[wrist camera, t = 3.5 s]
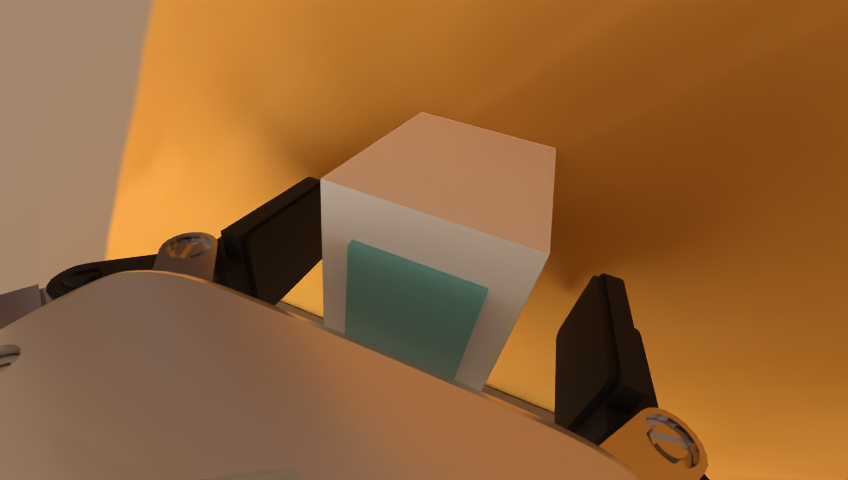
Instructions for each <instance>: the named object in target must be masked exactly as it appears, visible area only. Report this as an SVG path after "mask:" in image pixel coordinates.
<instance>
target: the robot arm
mask: <svg viewBox="0 0 848 480" xmlns="http://www.w3.org/2000/svg"><path fill="white" fill-rule="evenodd" d="M221 235H222V237H220V238H218V239H216V238H215V237H214V236H212V235H210V234H207V233H202V232H191V233H184V234H181V235H178V236H175V237H173V238H171V239H169V240H167V241H166V242H165V243H163V244H162V246H161V247H160V249H159V252H158V254H154V255H147V256H139V257H131V258H124V259H116V260H108V261H101V262H93V263H87V264H83V265H77V266H74V267H72V268H69V269H67V270H65V271H63V272H61V273H59V274H58V275H56V276H55V277H54V278H52V279H51V281H50V282H49V283H48V285H47V287H45V288H41V287H40V285H39V284H37V285H33V286H30V287H26V288H22V289H19V290H15V291H12V292H9V293H4V294H1V295H0V480H709V479H708V478H707V476H706V475H705V474H704V473H705V471H706V469H707V466H708V461H707V455H706V452H705V450H704V447H703V445H702V443H701V442H700V440H699V439H698V437H697V436H696V434H695V433H694V432H693V431H692V430H691V429H690V428H689V427H688V426H687V425H686V424H685V423H684V422H683V421H681V420H680V419H679V418H678V417H676V416H675V415H673V414H671V413H669V412H667V411H665V410H662V409H659V408H658V403H657V399H656V395H655V391H654V387H653V383H652V379H651V375H650V371H649V367H648V363H647V359H646V354H645V350H644V346H643V342H642V338H641V335H640V332H639V331H638V330H637V329H636V328H634V324H633V320H632V315H631V311H630V307H629V302H628V298H627V294H626V289H625V285H624V281H623V280H622V279H619V278H616V277H613V276H610V275H607V274H604V273H603V274H601V275H600V276H599V277H598V276H593V277H592V278H591V280H590V282H589V283H588V285H587V286H586V288H585V289H584V291H583V293H582V294H581V296H580V297H579V299H578V301H577V302H576V304H575V305H574V307H573V309H572V310H571V312H570V313H569V315H568V316H567V318H566V320H565V321H564V323H563V324H562V326H561V328H560V329H559V331H558V334H557V338H556V376H555V423H553V422H551V421H548V420H546V419H544V418H541V417H539V416H537V415H535V414H532V413H530V412H528V411H525V410H523V409H521V408H519V407H516V406H514V405H512V404H510V403H507V402H505V401H503V400H500V399H498V398H496V397H493V396H491V395H489V394H486V393H484V392H481V391H479V390H477V389H474V388H472V387H470V386H467V385H465V384H462V383H460V382H458V381H455V380H453V379H451V378H448V377H446V376H443V375H441V374H439V373H436V372H434V371H432V370H429V369H427V368H424V367H422V366H420V365H417V364H415V363H412V362H410V361H408V360H405V359H403V358H400V357H398V356H396V355H393V354H391V353H388V352H386V351H384V350H381V349H379V348H376V347H374V346H372V345H369V344H367V343H364V342H362V341H359V340H357V339H355V338H352V337H350V336H347V335H345V334H343V333H340V332H338V331H335V330H333V329H330V328H328V327H326V326H323V325H321V324H318V323H316V322H313V321H311V320H308V319H306V318H303V317H301V316H299V315H296V314H294V313H291V312H289V311H286V310H284V309H281V308H279V307H277V306H275V305H276V304H277V303H278V302H279V301H280V300H281V299H282V298H283V297H284V296H285V295H286V294H287V293H288V292H289V291H290V290H291V289H292V288H293V287H294V286H295V285H296V284H297V283H298V282H299V281H300V280H301V279H302V278H303V277H304V276H305V275H306V274H307V273H308V272H309V271H310V270H311V269H312V268H313V267H314V266H315V265H316V264H317V263H318V262H319V261H320V260H321V259H322V225H321V186H320V180H318V179H315V178H312V177H307V178H305V179H304V180H302V181H301V182H299V183H297V184H296V185H294V186H293V187H291V188H289V189H288V190H286V191H285V192H283V193H281V194H280V195H278V196H277V197H275V198H273V199H272V200H270V201H269V202H267V203H265V204H264V205H262V206H260V207H259V208H257V209H256V210H254V211H252V212H251V213H249V214H248V215H246V216H244V217H243V218H241V219H240V220H238V221H236V222H235V223H233V224H232V225H230V226H228V227H227V228H225V229H224V230H222V231H221Z"/></svg>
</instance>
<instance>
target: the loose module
mask: <svg viewBox="0 0 848 480" xmlns="http://www.w3.org/2000/svg"><path fill="white" fill-rule="evenodd" d="M555 162H556V148H554V147H550V146H547V145H543V144H539V143H536V142H532V141H528V140H525V139H521V138H517V137H514V136H510V135H506V134H503V133H499V132H495V131H492V130H488V129H484V128H481V127H477V126H473V125H470V124H466V123H462V122H458V121H455V120H451V119H447V118H444V117H440V116H436V115H433V114H429V113H425V112H420V113H419V114H417V115H416V116H414V117H413V118H411V119H410V120H408V121H406V122H405V123H403V124H402V125H400V126H399V127H397V128H396V129H394V130H393V131H391V132H390V133H388V134H387V135H385V136H384V137H382V138H381V139H379V140H378V141H376V142H375V143H373V144H372V145H370V146H369V147H367V148H366V149H364V150H363V151H361V152H360V153H358V154H357V155H355V156H354V157H352V158H351V159H349V160H348V161H346V162H345V163H343V164H342V165H340V166H339V167H337V168H336V169H334V170H332V171H331V172H329V173H328V174H326V175H325V176H323V177H322V178H320V186H321V225H322V265H323V305H324V326H326V327H328V328H330V329H333V330H335V331H338V332H340V333H343V334H345V335H347V336H350V337H352V338H355V339H357V340H359V341H362V342H364V343H367V344H369V345H372V346H374V347H376V348H379V349H381V350H384V351H386V352H388V353H391V354H393V355H396V356H398V357H400V358H403V359H405V360H408V361H410V362H412V363H415V364H417V365H420V366H422V367H424V368H427V369H429V370H432V371H434V372H436V373H439V374H441V375H443V376H446V377H448V378H451V379H453V380H455V381H458V382H460V383H462V384H465V385H467V386H470V387H472V388H474V389H477V390H479V391H482V389H483V387H484V385H485V383H486V381H487V379H488V377H489V375H490V373H491V371H492V369H493V367H494V365H495V363H496V361H497V359H498V357H499V355H500V353H501V351H502V349H503V347H504V345H505V343H506V341H507V339H508V337H509V335H510V333H511V331H512V329H513V327H514V325H515V323H516V321H517V319H518V317H519V315H520V313H521V311H522V309H523V307H524V305H525V303H526V301H527V299H528V297H529V295H530V293H531V291H532V289H533V287H534V285H535V283H536V281H537V279H538V277H539V275H540V273H541V271H542V269H543V267H544V265H545V263H546V261H547V259H548V257H549V255H550V244H551V228H552V211H553V195H554V179H555Z"/></svg>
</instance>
